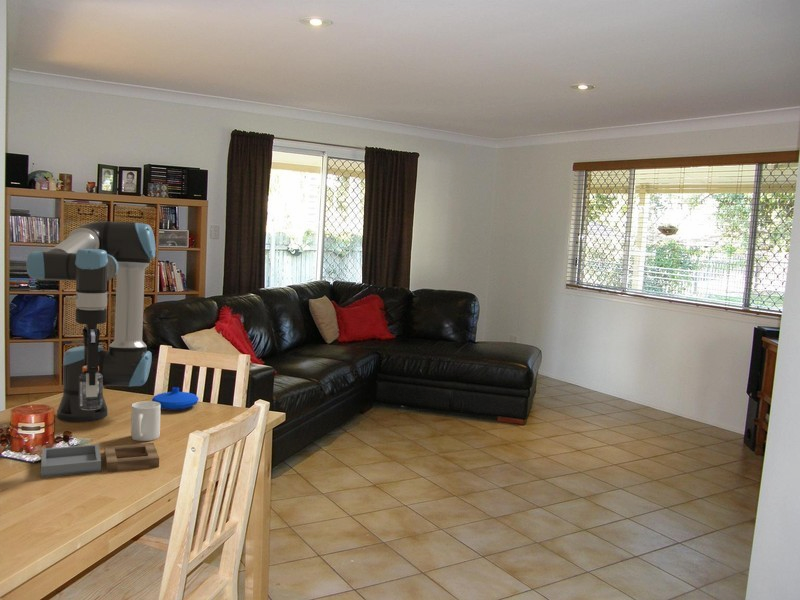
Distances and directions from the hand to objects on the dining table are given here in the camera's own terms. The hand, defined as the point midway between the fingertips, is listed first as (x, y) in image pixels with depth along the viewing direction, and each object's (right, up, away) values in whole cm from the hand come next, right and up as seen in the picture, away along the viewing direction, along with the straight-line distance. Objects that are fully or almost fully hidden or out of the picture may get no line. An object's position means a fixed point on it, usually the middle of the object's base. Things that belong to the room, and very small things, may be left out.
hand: (90, 393), depth 182 cm
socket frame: (+8, -19, +8) cm, 22 cm away
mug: (+5, -18, +24) cm, 31 cm away
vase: (+3, -13, +60) cm, 62 cm away
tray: (-5, -19, 0) cm, 20 cm away
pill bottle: (0, -4, 0) cm, 4 cm away
